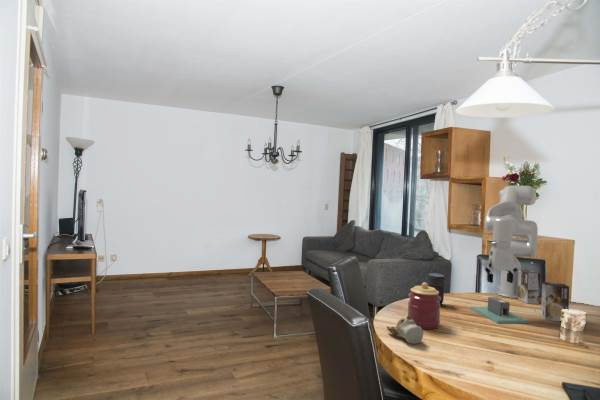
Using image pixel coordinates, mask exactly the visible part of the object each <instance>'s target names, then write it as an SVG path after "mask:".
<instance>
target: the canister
mask: <svg viewBox="0 0 600 400" xmlns="http://www.w3.org/2000/svg"><path fill="white" fill-rule="evenodd" d="M410 291H411V292H409V293H408V295H407V296H408V297H409V299H408V302H407V304H408V305H407V316H406V318H407V317H410V318H411V319H413V320H414V322H415V324H416V325H417V326H419V327H421V329H422V330H436V329H438V328H439V327H440V324H441V319H440V318H441V317H440V316H441V307H442V306H440V304H439V301H440V300H441V297H440V296H438V294H439V292H438V291H437V290H436V289H435V288H433V287H429V286H428V284H427V282H424V281H423V282H422V283H421V285H414V287H411V288H410Z"/></svg>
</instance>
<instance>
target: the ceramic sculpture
mask: <svg viewBox="0 0 600 400" xmlns="http://www.w3.org/2000/svg"><path fill="white" fill-rule="evenodd" d="M386 329H387V330H388V331H389V332H390V333H391V334H392V335H396V336H399V337H401V338H402V339H405V341H406V342H407V343H408V344H411V345H417V344H419V343H421V341H422V340H423V339H424V331H423V329H421V327H419V326H417V325H416V324H415V322H414V320H413V319H411V318H410V317H407V316H406V318H401V319H399V320H398V322H397V323H396V326H386Z"/></svg>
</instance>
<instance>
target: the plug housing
mask: <svg viewBox="0 0 600 400" xmlns="http://www.w3.org/2000/svg"><path fill="white" fill-rule="evenodd" d="M487 307H488V310H489V311H491V312H493V313H495V314H497V315H499V316H502V308H503V314H504V315H506V316H509V312H510V302H508V301H506V300H504V299H502V298H500V297H497V296H496V297H495V296H491V297H490V296H488V297H487Z"/></svg>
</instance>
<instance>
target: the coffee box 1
mask: <svg viewBox="0 0 600 400" xmlns="http://www.w3.org/2000/svg"><path fill="white" fill-rule="evenodd" d="M540 287H541V273H540V272H538V271H534V270H531V269H521V270H519V284H518V298H517V300H519V301H522V302H524V303H525V304H530V305H531V304H532V305H539V303H540Z"/></svg>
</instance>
